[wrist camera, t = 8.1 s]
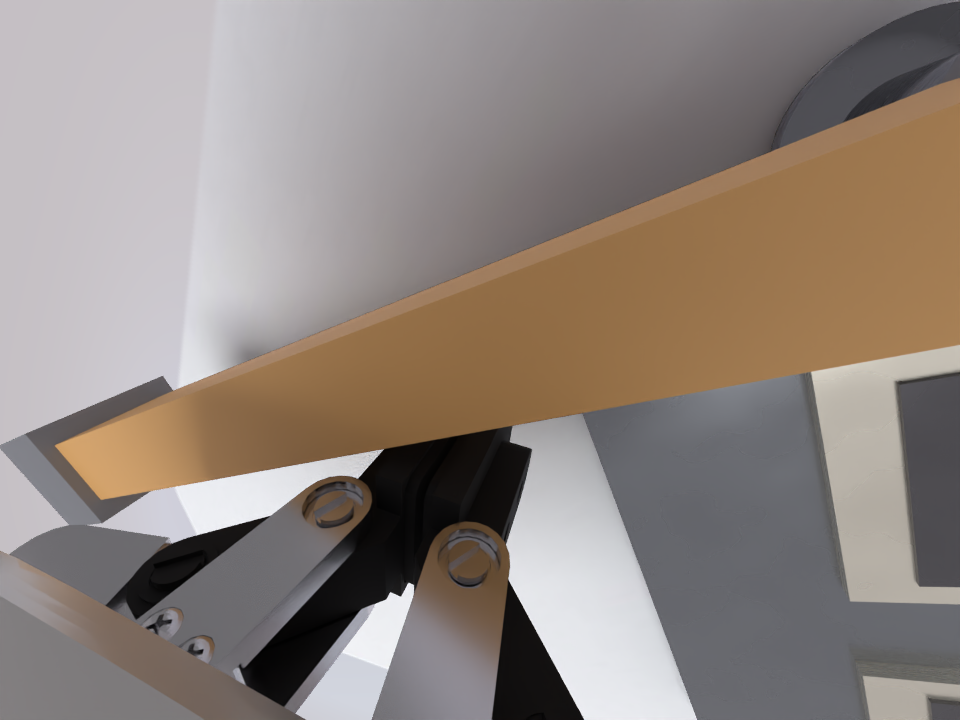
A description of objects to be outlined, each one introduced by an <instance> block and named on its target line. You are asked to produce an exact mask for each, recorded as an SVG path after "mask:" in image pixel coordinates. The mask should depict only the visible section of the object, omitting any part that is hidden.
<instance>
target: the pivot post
mask: <svg viewBox="0 0 960 720" xmlns="http://www.w3.org/2000/svg"><path fill="white" fill-rule="evenodd" d="M959 54H960V2H953V3H948V4H943V5H938V6H933V7H930V8H927V9H924V10H920V11H917V12H914V13H912V14H909V15H907V16H905V17H902V18H900V19H897V20H895V21H893V22H891V23H889V24H887V25H886V26H884V27H882V28H880V29H878V30H876V31H874V32H873V33H871V34H869V35H868V36H866V37H864V38H863V39H861V40H859V41H858V42H856V43H855V44H853V45H852V46H850V47H849V48H847V49H846V50H844V51H843V52H841V53H840V54H839V55H837V56H836V57H835V58H834V59H832V60H831V61H830V62H829V63H827V64H826V65H825V66H824V67H823V68H822V69H821V70H820V71H819V72H818V73H817V74H816V75H815V76H813V78H812V79H811V80H810V81H809V82H808V83H807V84H806V85H805V87H804V88H803V89H802V90H801V91H800V93H799V94H798V95H797V97H796V98H795V100H794V101H793V102H792V104H791V105H790V107H789V109H788V110H787V112H786V114H785V115H784V117H783V119H782V121H781V123H780V126H779V128H778V130H777V132H776V135H775V138H774V141H773V144H772V149H771V151H774V150H776V149H779V148H781V147H784V146H786V145H789V144H791V143H794V142H796V141H799V140H801V139H804V138H806V137H809V136H811V135H814V134H816V133H819V132H821V131H824V130H826V129H829V128H831V127H834V126H836V125H839V124H841V123H844V122H846V121H849V120H851V119H854V118H856V117H859V116H861V115H864V114H866V113H869V112H871V111H874V110H876V109H879V108H881V107H884V106H886V105H889V104H891V103H894V102H896V101H899V100H901V99H904V98H906V97H909V96H911V95H914V94H916V93H919V92H921V91H924V90H926V89H929V88H931V87H934V86H936V85H939V84H941V82H942V80H943V79H944V77H945V76H946V74H947V72H948V71H949V69H950V67H951V66H952V64H953V63H954V61H955V59H956V58H957V56H958V55H959Z"/></svg>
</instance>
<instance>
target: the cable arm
mask: <svg viewBox="0 0 960 720" xmlns="http://www.w3.org/2000/svg"><path fill="white" fill-rule="evenodd" d="M957 345H960V54H959V55H958V56H957V58H956V59H955V61H954V63H953V64H952V66H951V67H950V69H949V71H948V72H947V74H946V76H945V77H944V79H943V80H942V82H941V84H939V85H936V86H934V87H931V88H929V89H926V90H924V91H921V92H919V93H916V94H914V95H911V96H909V97H906V98H904V99H901V100H899V101H896V102H894V103H891V104H889V105H886V106H884V107H881V108H879V109H876V110H874V111H871V112H869V113H866V114H864V115H861V116H859V117H856V118H854V119H851V120H849V121H846V122H844V123H841V124H839V125H836V126H834V127H831V128H829V129H826V130H824V131H821V132H819V133H816V134H814V135H811V136H809V137H806V138H804V139H801V140H799V141H796V142H794V143H791V144H789V145H786V146H784V147H781V148H779V149H776V150H774V151H771V152H769V153H766V154H764V155H761V156H759V157H756V158H754V159H751V160H749V161H746V162H744V163H741V164H739V165H736V166H734V167H731V168H729V169H726V170H724V171H721V172H719V173H716V174H714V175H711V176H709V177H706V178H704V179H701V180H699V181H696V182H694V183H691V184H689V185H686V186H684V187H681V188H679V189H676V190H674V191H671V192H669V193H666V194H664V195H661V196H659V197H656V198H654V199H651V200H649V201H646V202H644V203H641V204H639V205H636V206H634V207H631V208H629V209H626V210H624V211H621V212H619V213H616V214H614V215H611V216H609V217H606V218H604V219H601V220H599V221H596V222H594V223H591V224H589V225H586V226H584V227H581V228H579V229H576V230H574V231H571V232H569V233H566V234H564V235H561V236H559V237H556V238H554V239H551V240H549V241H546V242H544V243H541V244H539V245H536V246H534V247H531V248H529V249H526V250H524V251H521V252H519V253H516V254H514V255H511V256H509V257H506V258H504V259H501V260H499V261H496V262H494V263H491V264H489V265H486V266H484V267H481V268H479V269H476V270H474V271H471V272H469V273H466V274H464V275H461V276H459V277H456V278H454V279H451V280H449V281H446V282H444V283H441V284H439V285H436V286H434V287H431V288H429V289H426V290H424V291H421V292H419V293H416V294H414V295H411V296H409V297H406V298H404V299H401V300H399V301H396V302H394V303H391V304H389V305H386V306H384V307H381V308H379V309H376V310H374V311H371V312H369V313H367V314H364V315H362V316H359V317H357V318H354V319H352V320H349V321H347V322H344V323H342V324H339V325H337V326H334V327H332V328H329V329H327V330H324V331H322V332H319V333H317V334H314V335H312V336H309V337H307V338H304V339H302V340H299V341H297V342H294V343H292V344H289V345H287V346H284V347H282V348H279V349H277V350H274V351H272V352H269V353H267V354H264V355H262V356H259V357H257V358H254V359H252V360H249V361H247V362H244V363H242V364H239V365H237V366H234V367H232V368H229V369H227V370H224V371H222V372H219V373H217V374H214V375H212V376H209V377H207V378H204V379H202V380H199V381H197V382H194V383H192V384H189V385H187V386H184V387H182V388H179V389H177V390H174V391H173V390H172V388H171V387H170V386H169V384H168V383H167V382H166V380H165V379H164V377H163V376H161V377H159V378H157V379H154V380H152V381H150V382H147V383H145V384H143V385H140V386H138V387H135V388H133V389H131V390H128V391H126V392H123V393H121V394H119V395H117V396H115V397H112V398H109V399H107V400H104V401H102V402H100V403H97V404H95V405H93V406H90V407H88V408H86V409H83V410H81V411H78V412H76V413H74V414H72V415H69V416H67V417H64V418H62V419H59V420H57V421H55V422H52V423H50V424H48V425H45V426H43V427H41V428H38V429H36V430H33V431H31V432H29V433H26V434H24V435H22V436H20V437H17V438H15V439H13V440H11V441H9V442H6V443H4V444H2V445H0V449H1V450H2V451H3V452H4V453H5V454H6V456H7V457H8V458H9V459H10V460H11V461H12V462H13V463H14V464H15V466H16V467H17V468H18V469H19V470H20V471H21V472H22V473H23V474H24V475H25V476H26V477H27V479H28V480H29V481H30V482H31V483H32V484H33V485H34V487H35V488H36V489H37V490H38V491H39V492H40V493H41V494H42V495H43V497H44V498H45V499H46V500H47V501H48V502H49V503H50V504H51V505H52V507H53V508H54V509H55V510H56V511H57V512H58V513H59V514H60V515H61V516H62V518H63V519H64V520H65V521H66V522H67V523H68V524H69V525H90V524H98V523H103V522H104V521H106V520H108V519H109V518H111V517H112V516H114V515H115V514H117V513H118V512H120V511H121V510H123V509H124V508H126V507H127V506H129V505H130V504H132V503H133V502H135V501H137V500H138V499H140V498H141V497H143V496H144V495H146V494H147V493H149V492H150V491H153V490H159V489H164V488H169V487H176V486H181V485H187V484H192V483H198V482H203V481H209V480H214V479H220V478H225V477H231V476H237V475H242V474H248V473H253V472H259V471H264V470H270V469H275V468H281V467H286V466H292V465H297V464H303V463H309V462H314V461H320V460H325V459H331V458H336V457H342V456H347V455H353V454H358V453H364V452H369V451H375V450H381V449H386V448H392V447H397V446H403V445H408V444H414V443H419V442H425V441H430V440H436V439H441V438H447V437H453V436H458V435H464V434H469V433H475V432H480V431H486V430H491V429H497V428H502V427H508V426H513V425H519V424H525V423H530V422H536V421H541V420H547V419H552V418H558V417H563V416H569V415H574V414H580V413H585V412H591V411H597V410H602V409H608V408H613V407H619V406H624V405H630V404H635V403H641V402H646V401H652V400H657V399H663V398H669V397H674V396H680V395H685V394H691V393H696V392H702V391H707V390H713V389H718V388H724V387H729V386H735V385H741V384H746V383H752V382H757V381H763V380H768V379H774V378H779V377H785V376H790V375H796V374H801V373H807V372H813V371H818V370H824V369H829V368H835V367H840V366H846V365H851V364H857V363H862V362H868V361H873V360H879V359H885V358H890V357H896V356H901V355H907V354H912V353H918V352H923V351H929V350H934V349H940V348H945V347H951V346H957Z"/></svg>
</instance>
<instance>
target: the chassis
mask: <svg viewBox="0 0 960 720" xmlns="http://www.w3.org/2000/svg"><path fill="white" fill-rule="evenodd" d="M583 416H584V418H585V421H586V424H587V426H588V429H589V432H590V434H591V437H592V440H593V442H594V445H595V448H596V450H597V453H598V456H599V458H600V461H601V464H602V466H603V469H604V472H605V474H606V477H607V480H608V482H609V485H610V488H611V490H612V493H613V496H614V498H615V501H616V504H617V506H618V509H619V512H620V514H621V517H622V520H623V522H624V525H625V528H626V531H627V533H628V536H629V539H630V541H631V544H632V547H633V549H634V552H635V555H636V557H637V560H638V563H639V565H640V568H641V571H642V573H643V576H644V579H645V581H646V584H647V587H648V589H649V592H650V595H651V597H652V600H653V603H654V605H655V608H656V611H657V613H658V616H659V619H660V621H661V624H662V627H663V629H664V632H665V635H666V637H667V640H668V643H669V645H670V648H671V651H672V653H673V656H674V659H675V661H676V664H677V667H678V669H679V672H680V675H681V677H682V680H683V683H684V686H685V688H686V691H687V694H688V696H689V699H690V702H691V704H692V707H693V710H694V712H695V715H696V718H697V720H960V345H957V346H951V347H945V348H940V349H934V350H929V351H923V352H918V353H912V354H907V355H901V356H896V357H890V358H885V359H879V360H873V361H868V362H862V363H857V364H851V365H846V366H840V367H835V368H829V369H824V370H818V371H813V372H807V373H801V374H796V375H790V376H785V377H779V378H774V379H768V380H763V381H757V382H752V383H746V384H741V385H735V386H729V387H724V388H718V389H713V390H707V391H702V392H696V393H691V394H685V395H680V396H674V397H669V398H663V399H657V400H652V401H646V402H641V403H635V404H630V405H624V406H619V407H613V408H608V409H602V410H597V411H591V412H585V413H583Z"/></svg>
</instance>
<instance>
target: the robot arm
mask: <svg viewBox="0 0 960 720" xmlns="http://www.w3.org/2000/svg"><path fill="white" fill-rule="evenodd" d="M511 430H512V426H508V427H502V428H497V429H491V430H486V431H480V432H475V433H469V434H464V435H458V436H453V437H447V438H441V439H436V440H430V441H425V442H419V443H414V444H408V445H403V446H397V447H392V448H386V449H384V450H383V451H382V452H381V453H380V455H379V456H378V457H377V458H376V459H375V460H374V461H373V462H372V464H371V465H370V466H369V467H368V468H367V469H366V470H365V471H364V473H363V474H362V475H361V476H360V477H359V478H358V479H356V478H354V477H350V476H335V477H328V478H326V479H323V480H320V481H317V482H316V483H314V484H312V485H311V486H309V487H308V488H306V489H305V490H304V491H302V492H301V493H300V494H298V495H297V496H296V497H295V498H293V499H292V500H291V501H289V502H288V503H287V504H286V505H284V506H283V507H282V508H280V509H279V510H278V511H277V512H275V513H274V514H273V515H271V516H268V517H264V518H261V519H257V520H253V521H249V522H246V523H242V524H238V525H234V526H231V527H227V528H223V529H219V530H216V531H212V532H208V533H204V534H200V535H197V536H193V537H190V538H186V539H183V540H181V541H178V542H175V543H173V544H172V543H171V541H170V538H167V537H161V536H154V535H147V534H141V533H134V532H127V531H121V530H114V529H108V528H101V527H94V526H88V525H68V526H64V527H60V528H56V529H53V530H50V531H48V532H46V533H43V534H41V535H39V536H36V537H35V538H33V539H31V540H30V541H28V542H26V543H25V544H23V545H22V546H20V547H18V548H17V549H16V550H14V551H13V552H12V553H11V554H9V555H8V554H6V553H4V552H1V551H0V720H305V719H303V718H302V717H300V716H298V715H297V714H295V713H296V712H297V710H298V709H299V708H300V706H301V705H302V704H303V702H304V701H305V700H306V699H307V697H308V696H309V694H310V693H311V692H312V691H313V689H314V688H315V687H316V685H317V684H318V683H319V681H320V680H321V679H322V677H323V676H324V675H325V673H326V672H327V671H328V670H329V668H330V667H331V666H332V664H333V663H334V662H335V660H336V659H337V657H338V656H339V655H340V654H341V652H342V651H343V650H344V648H345V647H346V646H347V644H348V643H349V642H350V641H351V639H352V638H353V637H354V635H355V634H356V633H357V631H358V630H359V629H360V627H361V626H362V625H363V623H364V622H365V621H366V619H367V618H368V617H369V615H370V613H371V611H372V610H373V608H374V605H375V604H376V603H378V602H381V601H383V600H386V599H387V597H388V595H389V593H390V592H392V593H394V594H396V595H398V596H402V594H403V592H404V590H405V588H406V586H407V584H408V583H411V584H413V585H414V596H413V599H412V602H411V605H410V608H409V611H408V614H407V617H406V620H405V623H404V626H403V629H402V632H401V634H400V637H399V640H398V643H397V646H396V649H395V652H394V655H393V658H392V661H391V664H390V667H389V670H388V673H387V676H386V679H385V682H384V685H383V688H382V691H381V694H380V697H379V700H378V703H377V705H376V709H375V711H374V714H373V717H372V720H584V719H583V717H582V715H581V713H580V711H579V709H578V708H577V706H576V704H575V702H574V700H573V698H572V696H571V695H570V693H569V691H568V689H567V687H566V685H565V684H564V682H563V680H562V678H561V676H560V674H559V672H558V671H557V669H556V667H555V665H554V663H553V661H552V660H551V658H550V656H549V654H548V652H547V650H546V648H545V647H544V645H543V643H542V641H541V639H540V637H539V636H538V634H537V632H536V630H535V628H534V626H533V624H532V623H531V621H530V619H529V617H528V615H527V613H526V612H525V610H524V608H523V606H522V604H521V602H520V600H519V599H518V597H517V595H516V593H515V591H514V589H513V587H512V586H511V584H510V582H509V580H508V577H509V569H510V559H509V552H508V549H507V547H506V543H507V539H508V536H509V533H510V530H511V527H512V524H513V521H514V517H515V514H516V511H517V508H518V505H519V502H520V498H521V495H522V491H523V488H524V484H525V480H526V476H527V471H528V467H529V462H530V458H531V452H532V449H530V448H527V447H524V446H520V445H517V444H514V443H510V436H511Z"/></svg>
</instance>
